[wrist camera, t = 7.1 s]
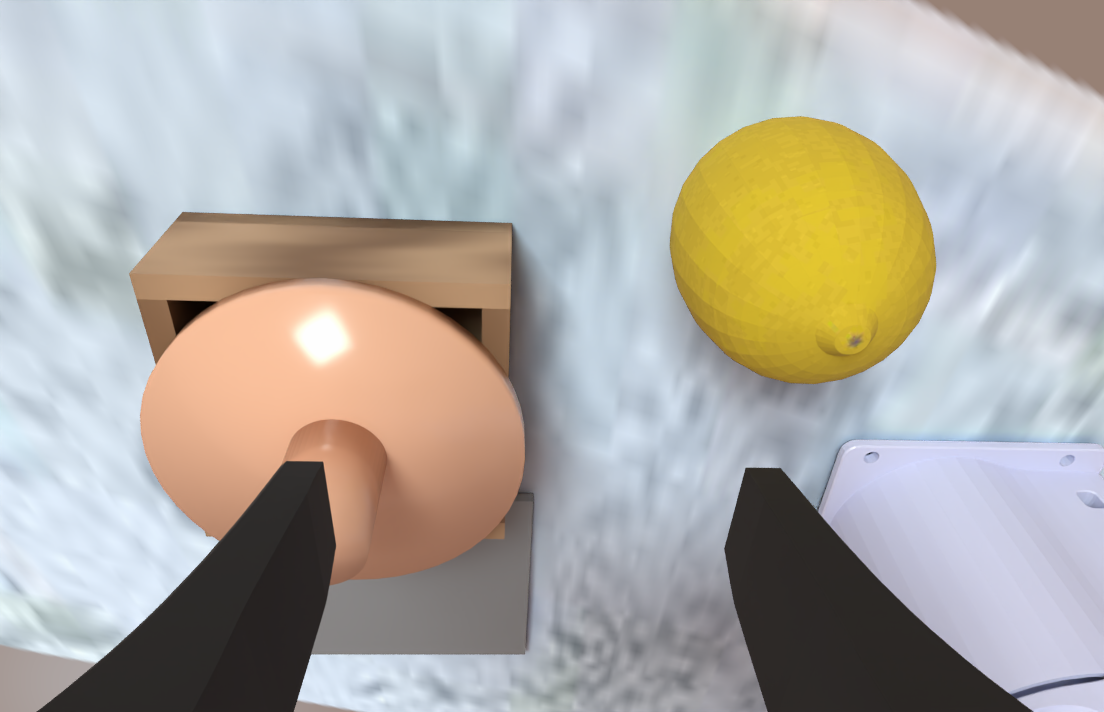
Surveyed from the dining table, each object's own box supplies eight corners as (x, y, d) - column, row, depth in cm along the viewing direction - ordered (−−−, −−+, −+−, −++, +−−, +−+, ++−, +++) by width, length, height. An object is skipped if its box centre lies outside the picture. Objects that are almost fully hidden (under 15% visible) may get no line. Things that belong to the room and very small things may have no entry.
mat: (533, 493, 28) (533, 501, 27) (524, 645, 33) (525, 654, 32) (277, 490, 27) (274, 498, 27) (309, 645, 32) (307, 654, 32)
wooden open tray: (511, 223, 22) (510, 284, 19) (505, 461, 27) (504, 538, 24) (182, 212, 21) (129, 273, 18) (240, 458, 26) (206, 536, 23)
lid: (532, 284, 19) (535, 383, 15) (518, 560, 24) (518, 675, 21) (107, 271, 18) (16, 370, 15) (195, 557, 24) (142, 675, 20)
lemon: (758, 299, 23) (853, 486, 17) (610, 210, 21) (649, 380, 15) (895, 148, 21) (1069, 300, 14) (739, 32, 19) (856, 144, 12)
